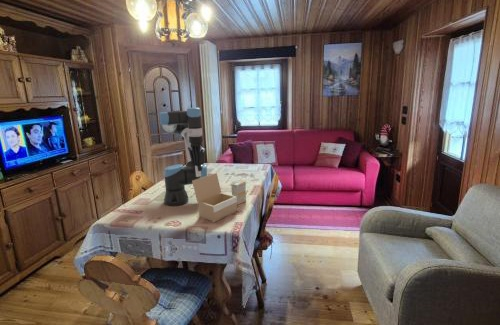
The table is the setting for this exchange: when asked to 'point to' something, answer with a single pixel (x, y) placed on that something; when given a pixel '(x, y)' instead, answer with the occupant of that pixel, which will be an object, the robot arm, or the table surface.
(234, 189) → the supplement box
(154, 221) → the table surface
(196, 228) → the table surface
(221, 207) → the carton
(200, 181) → the lid
